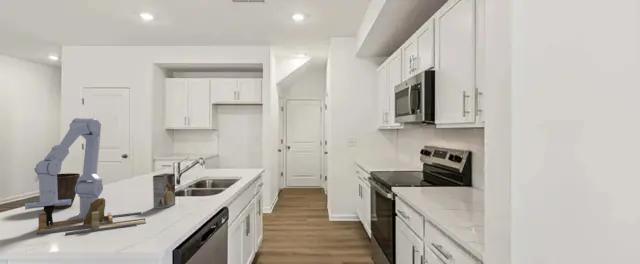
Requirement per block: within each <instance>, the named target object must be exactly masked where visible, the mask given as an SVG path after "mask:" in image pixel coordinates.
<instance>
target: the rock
mask: <svg viewBox="0 0 640 264" xmlns="http://www.w3.org/2000/svg"><path fill="white" fill-rule="evenodd" d="M90 205H91V206H90V209H89V212H88V213H87V215H86V217H85V220H84V222H82V225H83V224H91V223H92V212H98V211H99V222H103V220H105V219H104V216H105V208H106V199H105V198H104V197H101V198H100V197H99V199H97V200H95V201H94V202H92V203H91V204H90Z"/></svg>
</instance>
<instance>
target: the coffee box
mask: <svg viewBox="0 0 640 264" xmlns="http://www.w3.org/2000/svg"><path fill="white" fill-rule="evenodd" d="M175 176H176V174H175V173H167V172H166V173H160V174H155V175H153V176H152V183H153V184H152V185H153V187H152V189H153V193H152V194H153V199H152V200H153V209H166V208H168V207H169V208H170V207H171V206H174V205H176V177H175Z"/></svg>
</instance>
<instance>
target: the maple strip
mask: <svg viewBox="0 0 640 264" xmlns="http://www.w3.org/2000/svg"><path fill="white" fill-rule="evenodd" d="M99 222H100V221H99V211H98V212H92V228H91V229H96V228H103V227H111V226H118V225H126V224H133V223H137V225H143V224H144V225H145V224H146V223H147V222H146V219H145V220H139V221H131V222H123V223H116V224H108V225H100V226H99Z"/></svg>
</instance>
